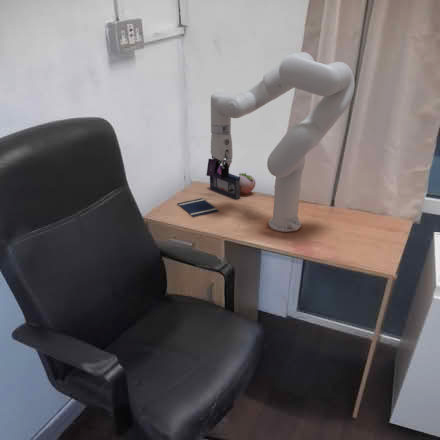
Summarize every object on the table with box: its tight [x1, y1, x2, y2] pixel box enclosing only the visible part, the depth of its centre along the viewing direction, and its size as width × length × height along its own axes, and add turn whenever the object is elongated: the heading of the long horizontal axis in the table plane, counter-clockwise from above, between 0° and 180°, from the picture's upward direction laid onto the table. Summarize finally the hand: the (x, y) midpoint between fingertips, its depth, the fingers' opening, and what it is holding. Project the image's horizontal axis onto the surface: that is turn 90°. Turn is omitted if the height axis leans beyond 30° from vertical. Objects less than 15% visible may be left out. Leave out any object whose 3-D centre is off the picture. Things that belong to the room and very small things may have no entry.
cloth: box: [177, 197, 219, 218], centre depth 181 cm, size 16×12×1 cm
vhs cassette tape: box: [209, 172, 241, 200], centre depth 192 cm, size 18×3×10 cm, turn 40°
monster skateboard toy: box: [206, 158, 227, 179], centre depth 169 cm, size 7×5×9 cm
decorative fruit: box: [238, 172, 256, 195], centre depth 191 cm, size 9×8×10 cm
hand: (220, 174), depth 168 cm, fingers closed on monster skateboard toy, 6 cm apart
